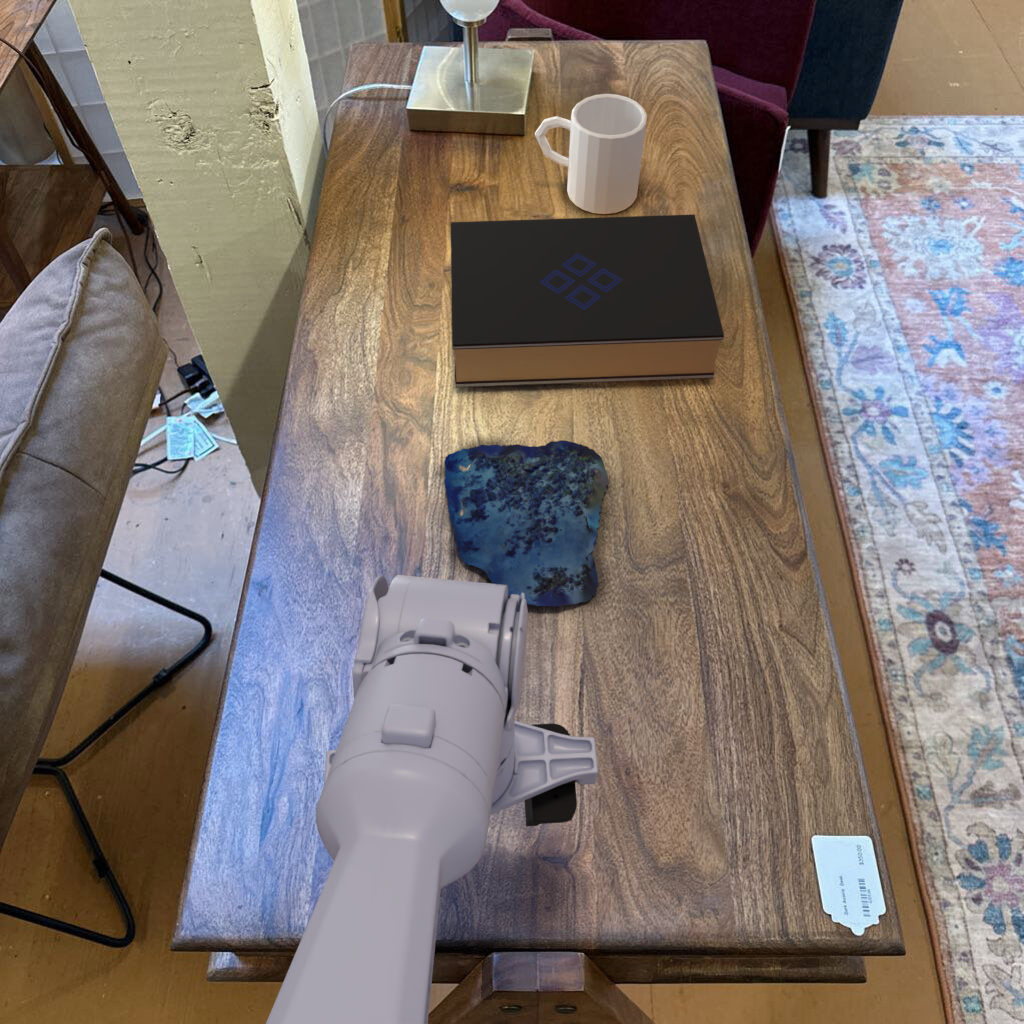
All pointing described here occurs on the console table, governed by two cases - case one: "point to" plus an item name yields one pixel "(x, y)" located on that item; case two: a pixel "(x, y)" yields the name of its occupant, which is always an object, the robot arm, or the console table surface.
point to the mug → (601, 151)
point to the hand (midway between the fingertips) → (468, 812)
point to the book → (581, 301)
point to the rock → (529, 517)
